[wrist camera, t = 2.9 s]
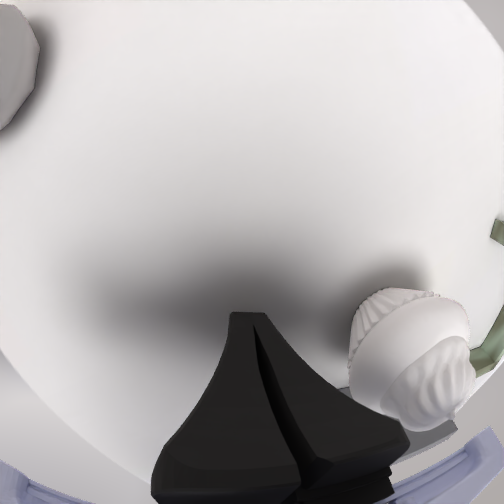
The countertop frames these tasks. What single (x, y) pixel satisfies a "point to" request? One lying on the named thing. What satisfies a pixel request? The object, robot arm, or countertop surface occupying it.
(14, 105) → the salt shaker
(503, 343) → the bay
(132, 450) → the countertop surface
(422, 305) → the muffin
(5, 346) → the countertop surface
